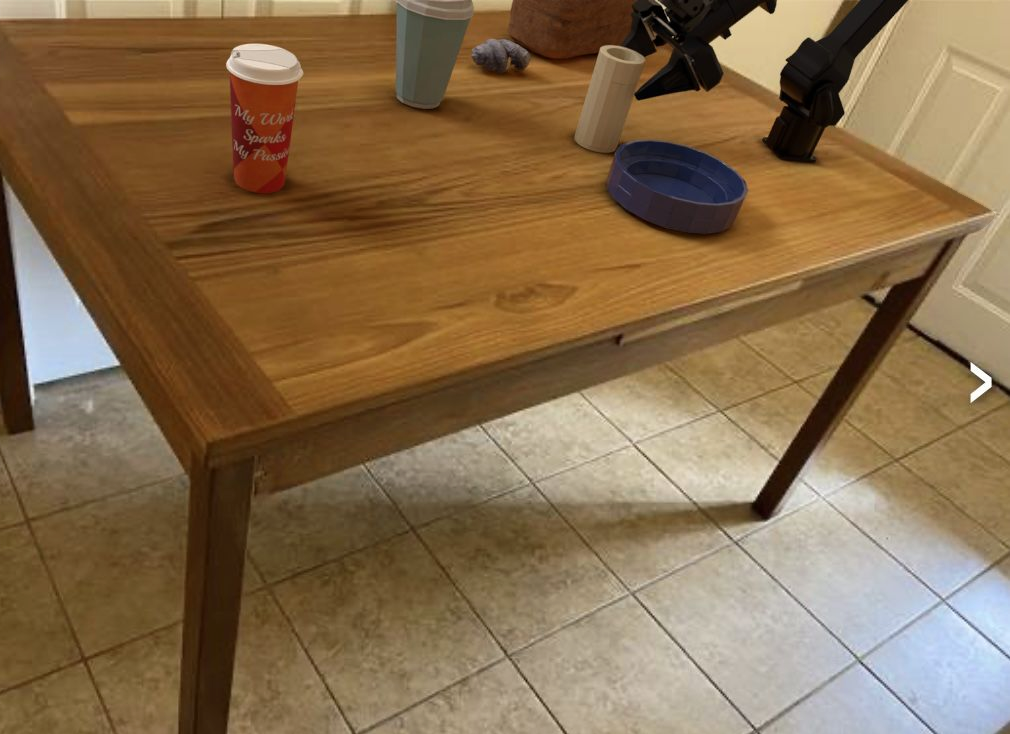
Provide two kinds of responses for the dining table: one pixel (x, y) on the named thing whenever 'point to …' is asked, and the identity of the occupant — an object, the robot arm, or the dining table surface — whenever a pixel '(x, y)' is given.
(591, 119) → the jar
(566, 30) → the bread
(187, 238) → the dining table surface
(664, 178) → the bowl
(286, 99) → the paper cup
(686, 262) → the dining table surface
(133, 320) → the dining table surface
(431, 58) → the disposable coffee cup
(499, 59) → the grey croissant
